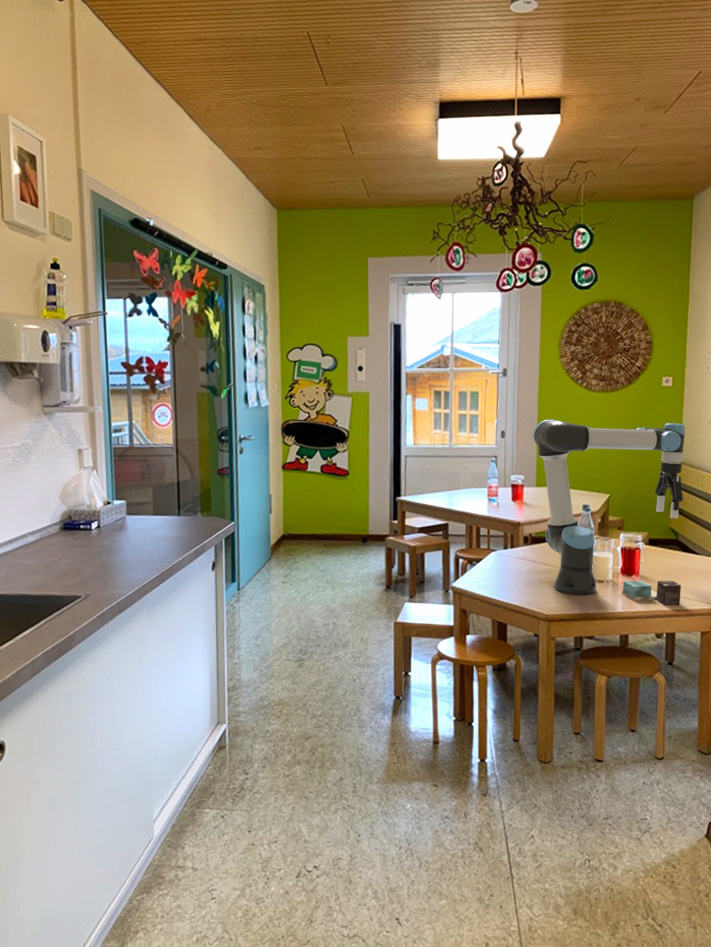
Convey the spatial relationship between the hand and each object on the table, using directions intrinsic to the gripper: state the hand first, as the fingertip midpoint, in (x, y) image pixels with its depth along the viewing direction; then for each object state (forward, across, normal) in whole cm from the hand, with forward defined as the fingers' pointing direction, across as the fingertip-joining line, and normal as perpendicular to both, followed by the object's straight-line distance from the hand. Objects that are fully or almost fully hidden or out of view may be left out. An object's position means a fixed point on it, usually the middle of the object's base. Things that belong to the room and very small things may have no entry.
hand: (666, 514), depth 286 cm
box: (+27, -31, +10) cm, 43 cm away
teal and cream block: (+27, -24, +17) cm, 40 cm away
